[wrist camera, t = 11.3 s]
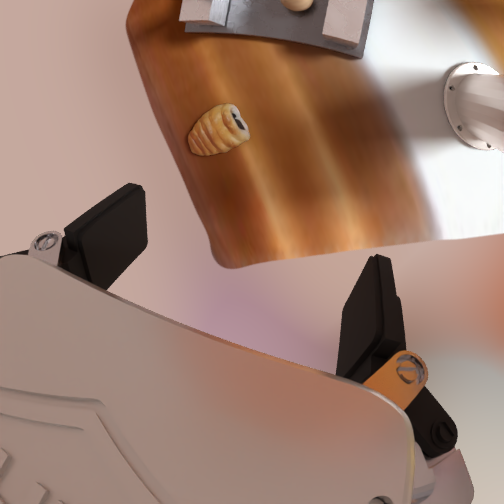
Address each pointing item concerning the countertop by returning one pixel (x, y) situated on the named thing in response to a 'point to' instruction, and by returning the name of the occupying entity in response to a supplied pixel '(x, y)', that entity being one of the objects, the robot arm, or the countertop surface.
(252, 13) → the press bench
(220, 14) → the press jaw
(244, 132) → the pastry
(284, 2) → the tan wooden ball
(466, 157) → the countertop surface
